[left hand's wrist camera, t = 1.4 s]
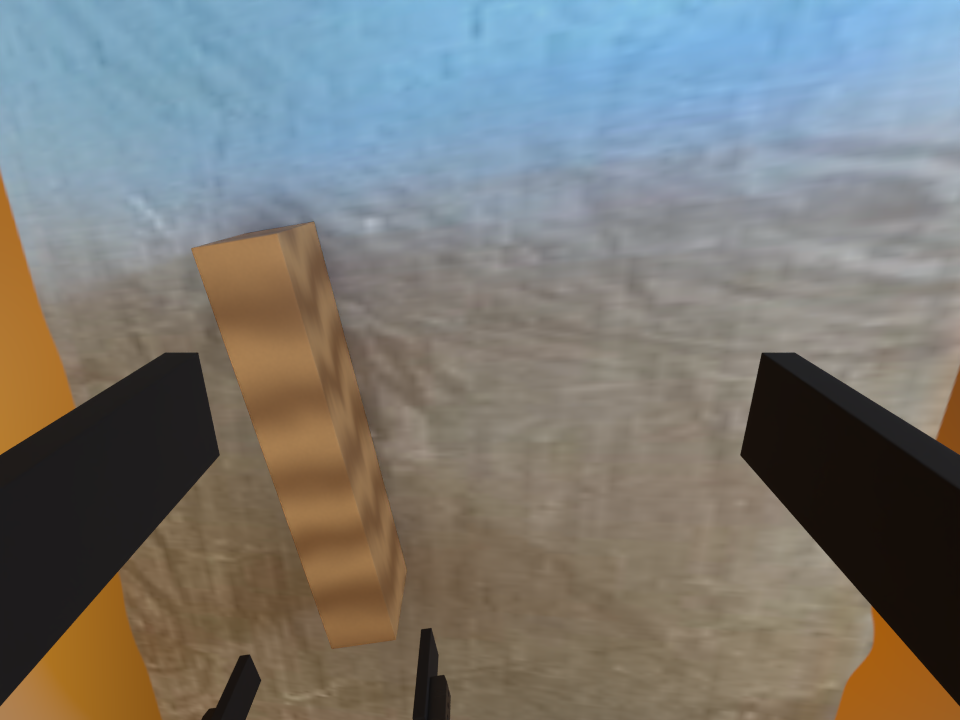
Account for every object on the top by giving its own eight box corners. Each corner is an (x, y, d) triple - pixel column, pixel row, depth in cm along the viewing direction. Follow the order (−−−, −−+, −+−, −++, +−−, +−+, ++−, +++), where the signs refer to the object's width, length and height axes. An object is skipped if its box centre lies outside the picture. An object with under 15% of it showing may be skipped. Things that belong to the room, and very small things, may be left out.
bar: (244, 233, 40) (190, 248, 32) (314, 221, 40) (277, 233, 32) (352, 578, 51) (331, 649, 44) (407, 569, 51) (396, 640, 43)
